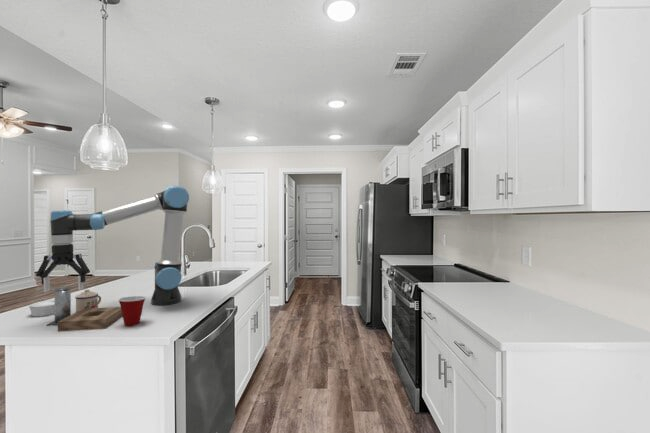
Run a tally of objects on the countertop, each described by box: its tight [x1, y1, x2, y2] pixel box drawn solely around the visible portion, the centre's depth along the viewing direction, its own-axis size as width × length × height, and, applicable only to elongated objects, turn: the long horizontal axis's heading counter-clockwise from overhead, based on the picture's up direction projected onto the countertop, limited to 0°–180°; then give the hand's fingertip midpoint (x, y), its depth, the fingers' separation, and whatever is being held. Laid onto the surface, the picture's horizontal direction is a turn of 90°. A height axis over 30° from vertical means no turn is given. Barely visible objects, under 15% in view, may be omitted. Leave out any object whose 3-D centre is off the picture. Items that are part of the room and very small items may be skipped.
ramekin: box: [28, 299, 55, 318], centre depth 151 cm, size 11×11×5 cm
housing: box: [57, 306, 123, 332], centre depth 140 cm, size 18×18×4 cm
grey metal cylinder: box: [53, 286, 72, 323], centre depth 140 cm, size 6×6×15 cm
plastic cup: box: [117, 295, 147, 327], centre depth 138 cm, size 11×11×12 cm
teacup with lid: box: [74, 288, 102, 313], centre depth 154 cm, size 12×9×12 cm
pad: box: [46, 319, 58, 327], centre depth 140 cm, size 8×8×1 cm
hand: (64, 290), depth 140 cm, fingers open, 13 cm apart
